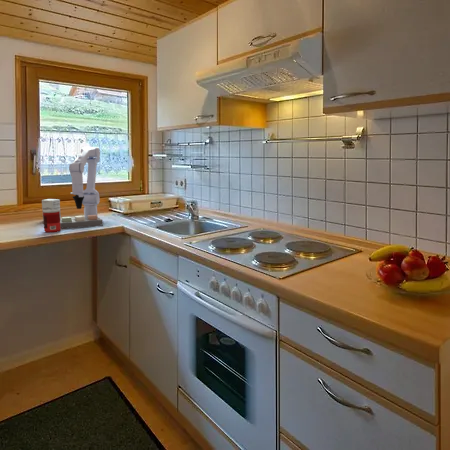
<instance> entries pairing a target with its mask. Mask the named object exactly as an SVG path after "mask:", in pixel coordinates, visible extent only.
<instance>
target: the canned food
mask: <svg viewBox="0 0 450 450" xmlns="http://www.w3.org/2000/svg"><path fill="white" fill-rule="evenodd" d="M60 214H61V210H60V211H59V210H56V209H53V210H44V211H42V220H44V221H43V229H44V230H43V231H44V232H45V233H47V234H48V233H49V234H51V233H52V234H53V233H59V232H61V225H60Z"/></svg>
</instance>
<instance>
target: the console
mask: <svg viewBox="0 0 450 450" xmlns="http://www.w3.org/2000/svg"><path fill="white" fill-rule="evenodd" d="M71 219H72V221H70V222H62V219H61V220H60V225H61V229H62V230H64V229H75V228H84V227H85V228H86V227H97V226H98V227H99V226H103V224H104V223H103V222H104V220H103V219H101V218H100V217H97V219H95V220H88V218H85V220H82V221H75V218H71Z"/></svg>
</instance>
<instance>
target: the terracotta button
mask: <svg viewBox="0 0 450 450" xmlns="http://www.w3.org/2000/svg"><path fill="white" fill-rule="evenodd" d="M97 216H98V214H97V215H88V220H95V219H97Z"/></svg>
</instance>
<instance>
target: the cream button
mask: <svg viewBox="0 0 450 450" xmlns="http://www.w3.org/2000/svg"><path fill="white" fill-rule="evenodd" d="M74 219H75V221H82V220H85V217H84V215H75V216H74Z"/></svg>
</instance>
